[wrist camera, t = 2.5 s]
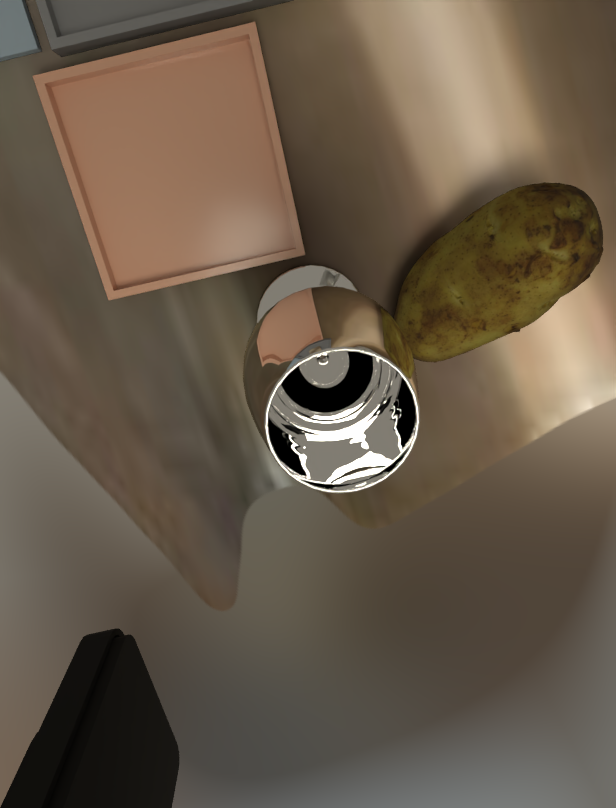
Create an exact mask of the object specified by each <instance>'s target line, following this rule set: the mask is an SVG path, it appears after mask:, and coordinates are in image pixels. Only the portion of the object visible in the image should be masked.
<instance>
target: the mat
mask: <svg viewBox="0 0 616 808" xmlns="http://www.w3.org/2000/svg"><path fill="white" fill-rule="evenodd" d="M41 51H42V50H41V47H40V44H39V41H38V38H37V35H36V32H35V29H34V26H33V23H32V20H31V17H30V14H29V11H28V8H27V4H26V1H25V0H0V61H5V60H9V59H13V58H17V57H21V56H25V55H29V54H33V53H37V52H41Z"/></svg>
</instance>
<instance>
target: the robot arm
mask: <svg viewBox="0 0 616 808" xmlns="http://www.w3.org/2000/svg"><path fill="white" fill-rule="evenodd" d="M178 770H179V751H178V745H177V742H176V740H175V737H174V735H173V732H172V730H171V727H170V725H169V722H168V720H167V718H166V715H165V713H164V710H163V708H162V705H161V703H160V700H159V698H158V696H157V693H156V690H155V688H154V686H153V683H152V681H151V678H150V676H149V673H148V671H147V668H146V666H145V664H144V661H143V658H142V656H141V654H140V651H139V649H138V646H137V644H136V641H135V639H134V638H133V636H132V635H124V634H123V632H122V631H121V630H120V629H112V630H107V631H103V632H98V633H93V634H89V635H86V636H84V637H83V639H82V640H81V642H80V644H79V646H78V648H77V650H76V652H75V655H74V657H73V659H72V661H71V663H70V665H69V667H68V669H67V672H66V674H65V676H64V678H63V680H62V682H61V684H60V687H59V689H58V691H57V693H56V695H55V698H54V699H53V702H52V704H51V706H50V708H49V710H48V713H47V714H46V717H45V719H44V721H43V723H42V725H41V727H40V730H39V732H38V733H37V734H36V735H35V737H34V738H33V740H32V742H31V744H30V746H29V748H28V750H27V752H26V754H25V756H24V758H23V761H22V763H21V765H20V767H19V769H18V771H17V774H16V775H15V778H14V780H13V782H12V784H11V786H10V788H9V790H8V792H7V795H6V797H5V799H4V801H3V803H2V805H1V807H0V808H172V802H173V797H174V791H175V786H176V781H177V775H178Z"/></svg>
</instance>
